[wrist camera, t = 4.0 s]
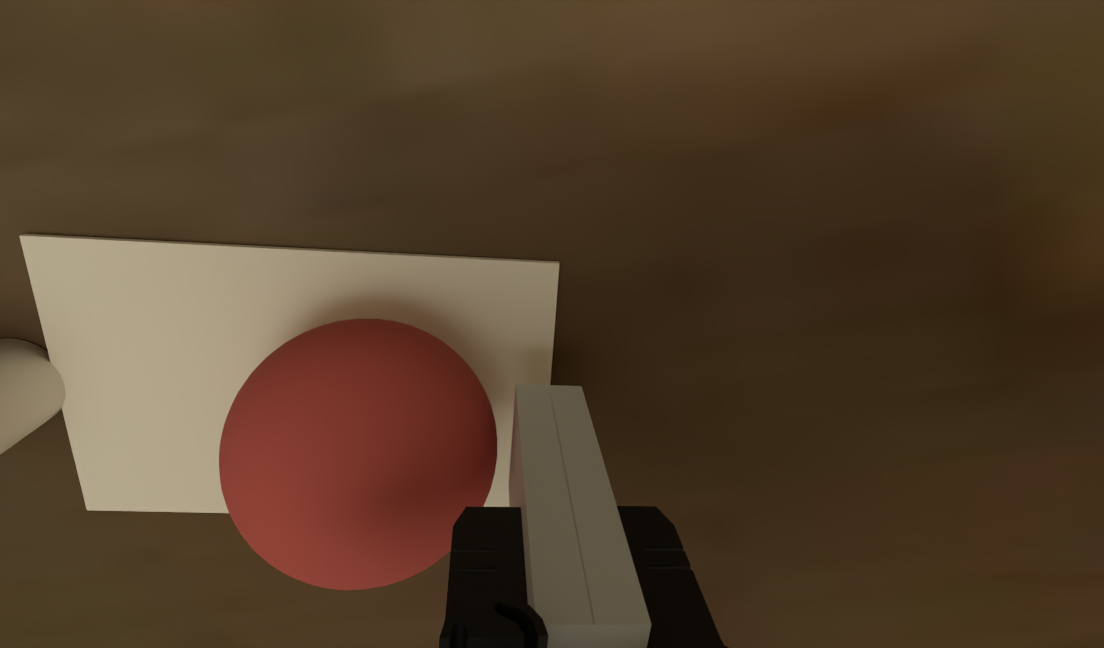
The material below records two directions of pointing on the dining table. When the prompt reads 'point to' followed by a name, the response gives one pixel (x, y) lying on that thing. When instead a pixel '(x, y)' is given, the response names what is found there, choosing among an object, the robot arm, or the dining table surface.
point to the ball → (357, 453)
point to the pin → (26, 390)
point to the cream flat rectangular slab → (250, 343)
